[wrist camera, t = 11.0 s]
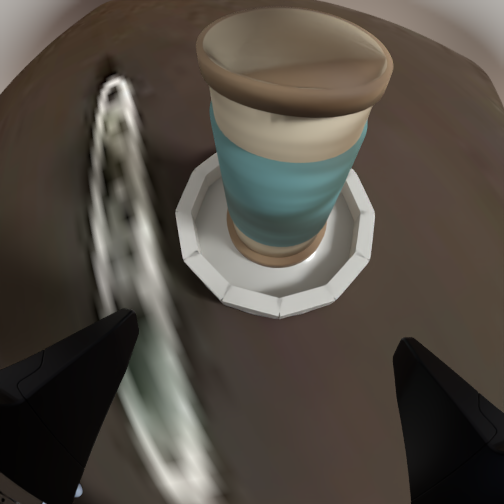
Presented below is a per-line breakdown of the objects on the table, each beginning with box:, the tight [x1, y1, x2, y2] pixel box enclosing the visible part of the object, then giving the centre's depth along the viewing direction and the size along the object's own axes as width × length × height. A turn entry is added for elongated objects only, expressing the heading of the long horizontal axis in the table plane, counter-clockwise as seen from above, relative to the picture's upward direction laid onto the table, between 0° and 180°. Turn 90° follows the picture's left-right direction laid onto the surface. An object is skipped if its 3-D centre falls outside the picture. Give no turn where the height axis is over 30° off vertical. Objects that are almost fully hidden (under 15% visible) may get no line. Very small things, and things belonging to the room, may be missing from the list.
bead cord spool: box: [196, 7, 393, 268], centre depth 13 cm, size 6×6×13 cm
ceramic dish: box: [175, 152, 375, 319], centre depth 19 cm, size 12×12×2 cm
